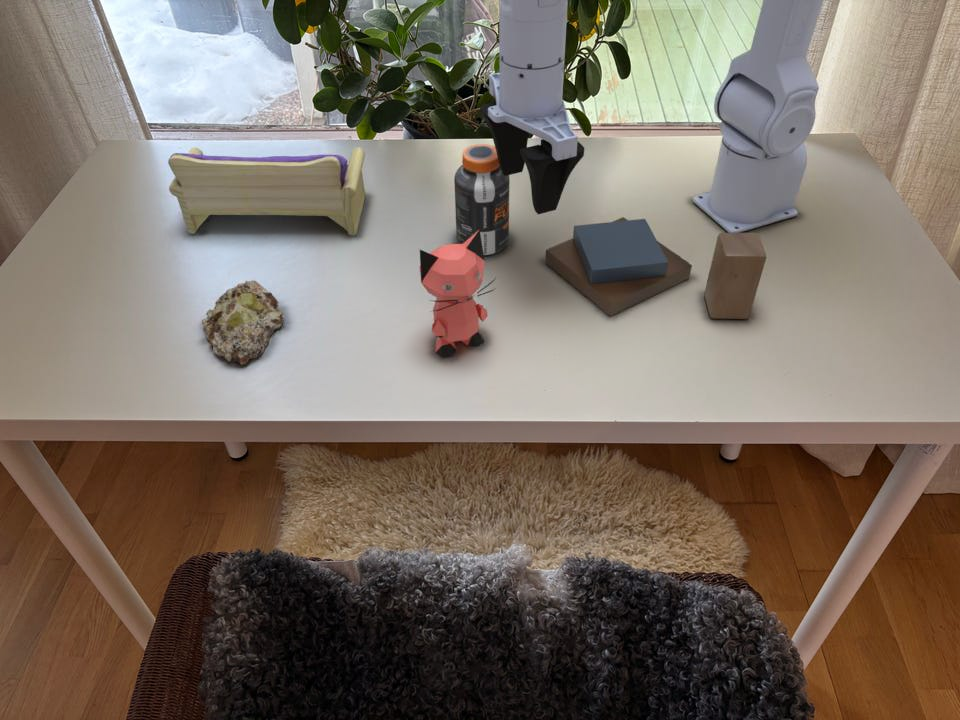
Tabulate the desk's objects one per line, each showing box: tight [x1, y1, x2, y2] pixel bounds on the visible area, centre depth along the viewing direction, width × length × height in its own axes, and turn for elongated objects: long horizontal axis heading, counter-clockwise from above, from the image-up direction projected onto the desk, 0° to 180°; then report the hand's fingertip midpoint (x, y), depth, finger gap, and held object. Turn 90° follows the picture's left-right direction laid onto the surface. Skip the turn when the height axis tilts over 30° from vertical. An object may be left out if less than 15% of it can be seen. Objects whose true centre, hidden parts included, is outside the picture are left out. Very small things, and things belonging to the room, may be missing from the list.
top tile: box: [572, 218, 668, 284], centre depth 82 cm, size 8×8×2 cm
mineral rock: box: [201, 280, 285, 366], centre depth 77 cm, size 11×4×8 cm
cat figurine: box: [419, 230, 498, 359], centre depth 72 cm, size 7×7×12 cm
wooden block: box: [703, 232, 767, 320], centre depth 76 cm, size 4×4×8 cm
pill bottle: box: [453, 143, 510, 256], centre depth 84 cm, size 6×6×11 cm
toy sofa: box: [167, 146, 366, 237], centre depth 89 cm, size 21×9×10 cm, turn 88°
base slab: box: [544, 216, 693, 317], centre depth 83 cm, size 11×11×2 cm
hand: (528, 190), depth 77 cm, fingers open, 7 cm apart
